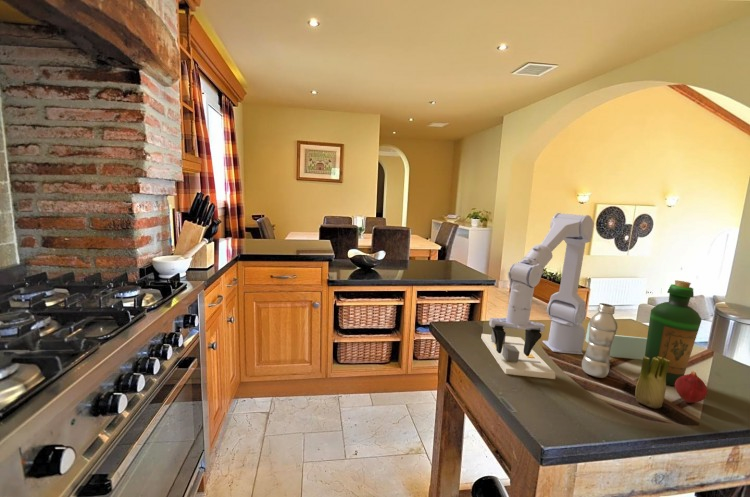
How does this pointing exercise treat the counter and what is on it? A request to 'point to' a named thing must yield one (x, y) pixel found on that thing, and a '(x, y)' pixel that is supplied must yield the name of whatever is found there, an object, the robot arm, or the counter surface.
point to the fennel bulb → (652, 382)
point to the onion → (691, 388)
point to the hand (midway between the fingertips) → (512, 353)
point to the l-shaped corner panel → (626, 346)
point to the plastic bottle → (600, 341)
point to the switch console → (525, 364)
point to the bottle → (673, 330)
